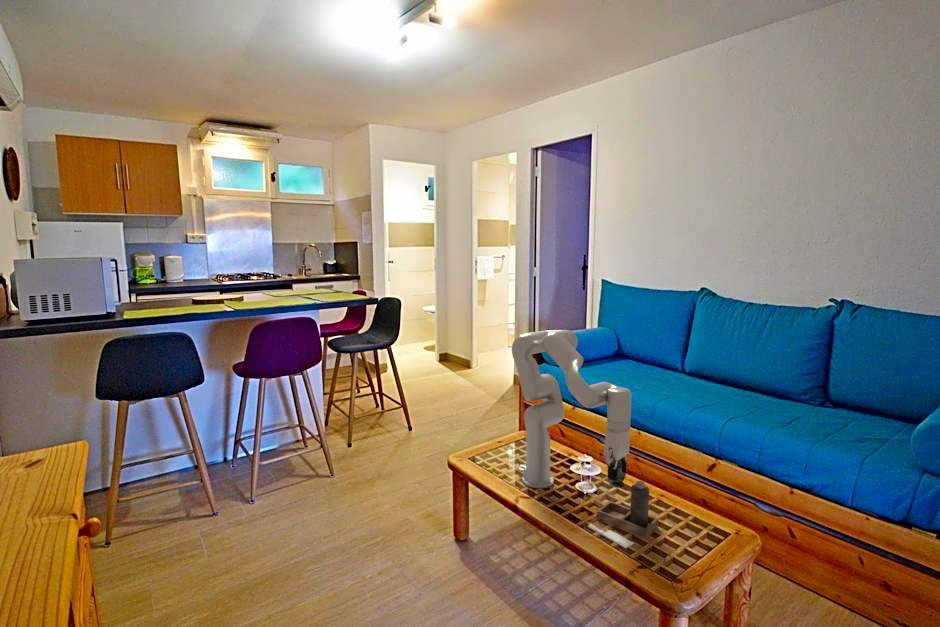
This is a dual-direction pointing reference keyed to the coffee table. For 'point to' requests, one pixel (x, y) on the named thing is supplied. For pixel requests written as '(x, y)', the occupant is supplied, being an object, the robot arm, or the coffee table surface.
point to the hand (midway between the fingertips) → (616, 475)
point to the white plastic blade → (613, 536)
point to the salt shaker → (618, 475)
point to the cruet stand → (631, 513)
